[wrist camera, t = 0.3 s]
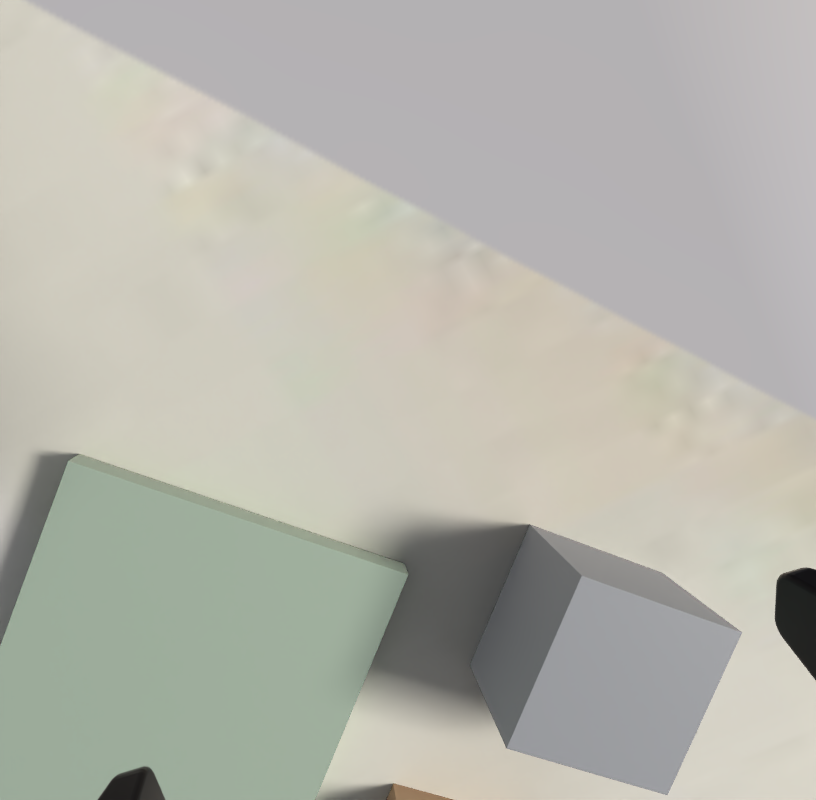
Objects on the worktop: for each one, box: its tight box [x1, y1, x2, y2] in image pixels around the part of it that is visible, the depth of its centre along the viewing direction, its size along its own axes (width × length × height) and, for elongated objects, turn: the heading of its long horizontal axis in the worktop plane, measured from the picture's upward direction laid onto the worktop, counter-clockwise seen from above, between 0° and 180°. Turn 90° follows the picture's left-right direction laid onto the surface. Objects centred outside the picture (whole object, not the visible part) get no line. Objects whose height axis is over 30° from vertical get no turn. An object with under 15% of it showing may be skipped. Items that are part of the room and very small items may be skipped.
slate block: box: [470, 525, 742, 795], centre depth 23 cm, size 6×6×5 cm
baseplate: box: [0, 454, 408, 800], centre depth 23 cm, size 12×12×1 cm
